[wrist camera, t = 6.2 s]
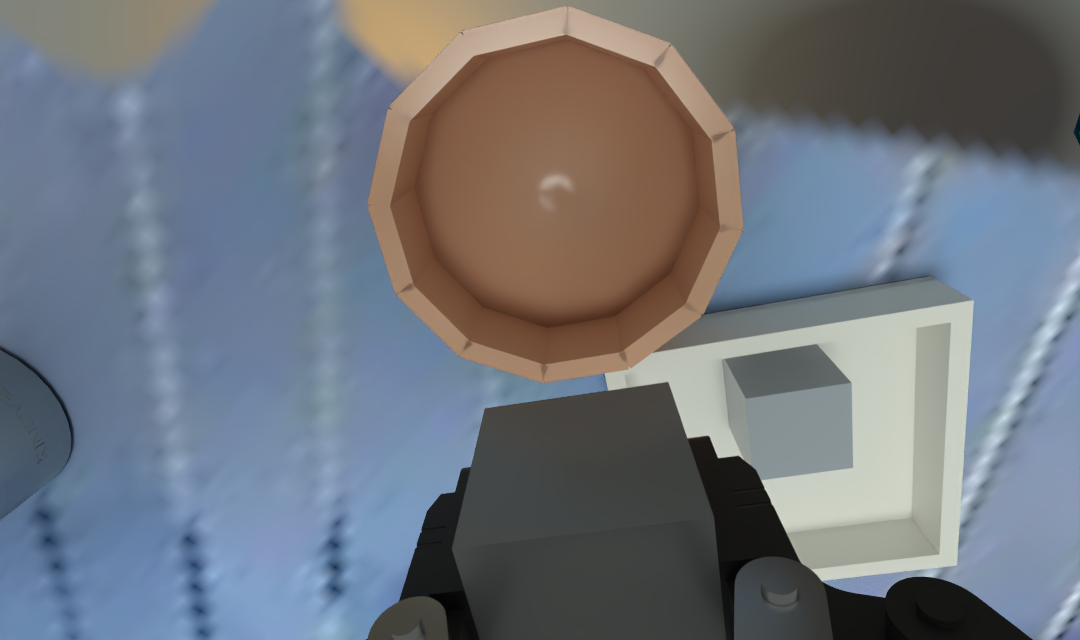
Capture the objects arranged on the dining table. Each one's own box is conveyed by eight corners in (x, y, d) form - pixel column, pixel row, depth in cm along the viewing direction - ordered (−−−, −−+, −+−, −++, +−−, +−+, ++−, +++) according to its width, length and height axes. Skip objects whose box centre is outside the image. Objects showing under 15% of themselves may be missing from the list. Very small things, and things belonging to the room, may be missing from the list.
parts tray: (641, 556, 33) (647, 600, 30) (599, 332, 28) (602, 361, 25) (922, 521, 31) (956, 565, 28) (931, 275, 26) (973, 300, 23)
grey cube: (728, 426, 29) (753, 481, 25) (721, 352, 28) (745, 398, 24) (814, 413, 29) (853, 468, 25) (811, 338, 27) (851, 382, 23)
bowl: (449, 353, 29) (429, 401, 25) (365, 64, 24) (322, 63, 20) (725, 306, 27) (753, 349, 23) (694, -13, 22) (721, -32, 18)
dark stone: (520, 549, 15) (505, 722, 11) (484, 408, 13) (451, 548, 9) (686, 529, 14) (732, 701, 10) (668, 381, 13) (714, 517, 9)
